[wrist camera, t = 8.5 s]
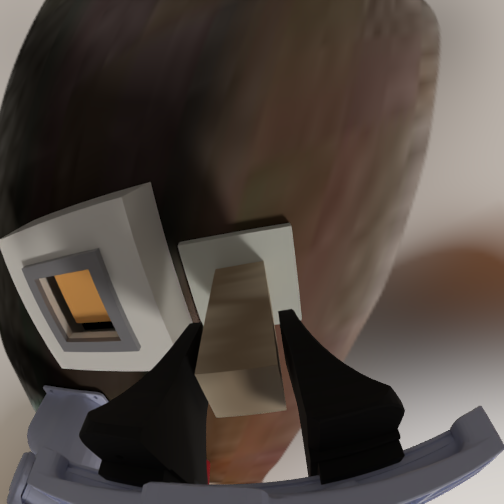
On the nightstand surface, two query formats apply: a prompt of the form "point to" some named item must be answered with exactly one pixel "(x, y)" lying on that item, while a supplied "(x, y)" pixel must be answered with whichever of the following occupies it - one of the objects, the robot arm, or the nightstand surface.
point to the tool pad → (243, 252)
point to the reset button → (82, 297)
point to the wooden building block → (240, 345)
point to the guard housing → (101, 280)
